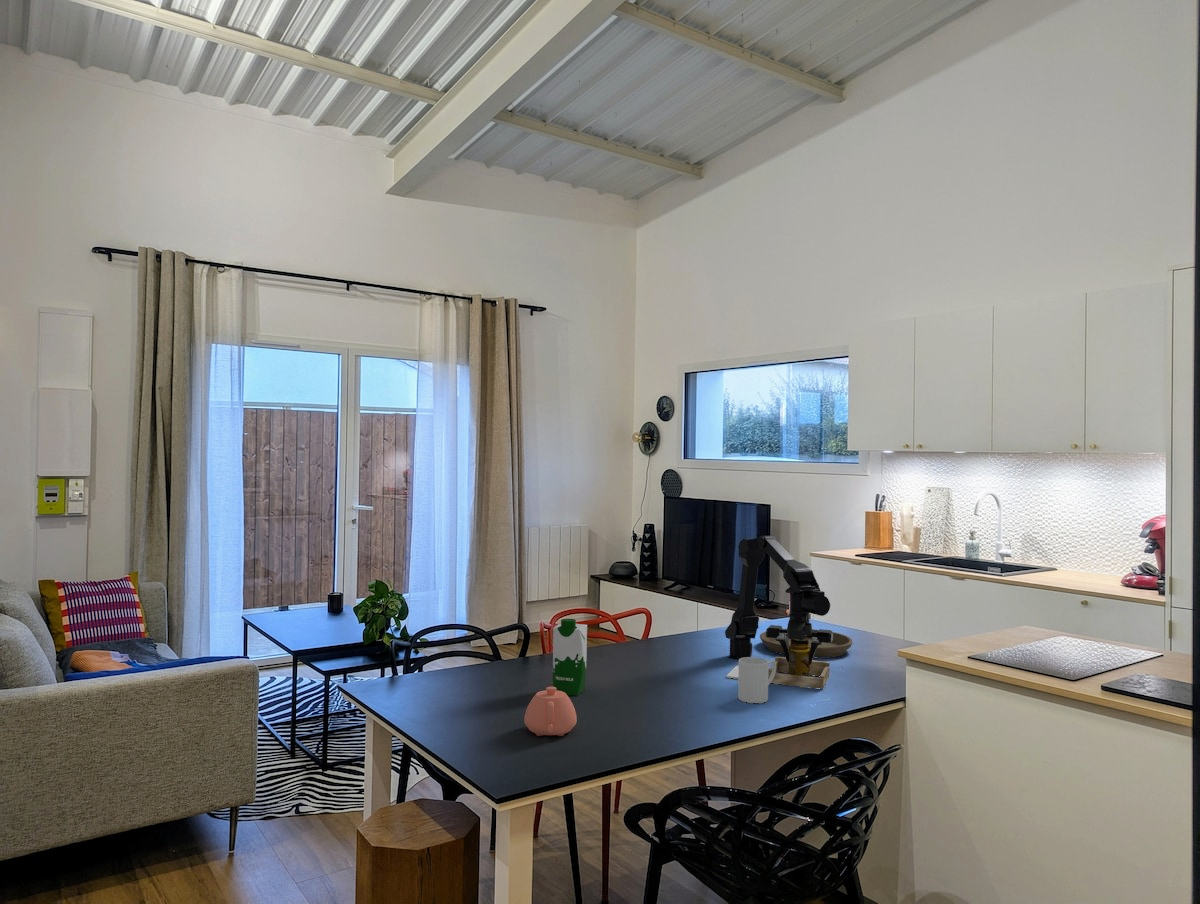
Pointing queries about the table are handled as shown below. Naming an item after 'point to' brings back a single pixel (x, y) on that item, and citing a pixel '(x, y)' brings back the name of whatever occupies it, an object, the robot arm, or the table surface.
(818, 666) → the pine frame
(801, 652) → the condiment
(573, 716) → the sugar bowl
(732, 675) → the grey mat
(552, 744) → the table surface
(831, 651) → the plant saucer
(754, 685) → the mug
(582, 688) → the milk carton
